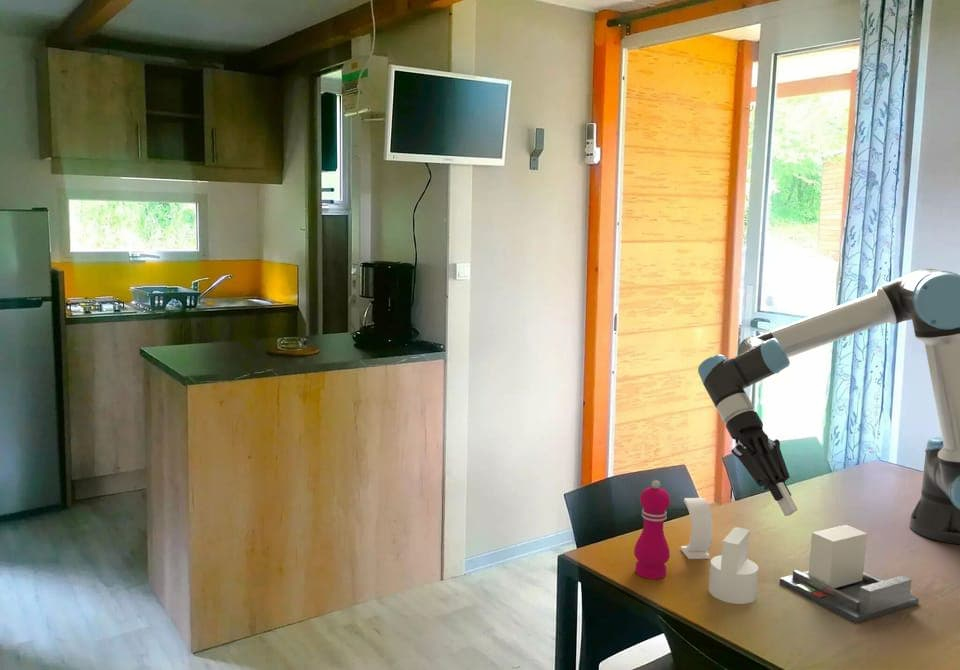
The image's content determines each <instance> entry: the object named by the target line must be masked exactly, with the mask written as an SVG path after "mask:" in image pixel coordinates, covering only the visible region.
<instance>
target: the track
mask: <svg viewBox="0 0 960 670" xmlns="http://www.w3.org/2000/svg"><path fill="white" fill-rule="evenodd" d="M808 573H809V570H805V571H800V570H798V569H795V570H792V574H790V575H787V576H783V577H779V585H780V586H781V585H782V587H785V588H787V589H789V590H791V591H793V592H795V593H797V594H798V595H801V596H803V597H805V598H806V599H807V600H810V601H812V602H814V603H815V604H818V605H820V606H821V607H823V608H825V609H828V610H829V611H831V612H833V613H835V614H837V615H838V616H840V617H843V618H844V619H847V620H848V621H850V622H852V623H854V624H856V625H858V624H861V623H863V622H866V621H870V620H873V619H876V618H879V617H882V616H886V615H889V614H891V613H895V612H898V611H901V610H905V609H907V608H911V607H914V606H918V605H919V603H920V602H919V601H920V599H919V598H918V597H916V596H915V595H912V594H911V588H912V578H909V577H906V576H905V575H898V576H895V577H892V578H887V579H885V580H882V579H880V578H878V577H876V576H873V575H872V574H869V573H867V572H865V571H864V572H863V580H862V581H859V582H855V583H851V584H848V585H844V586H841V587H837V588H832V587H830V586H828V585H826V584H824V583H822V582H820V581H818V580H816V579H814V578H812V577H810V576H808Z"/></svg>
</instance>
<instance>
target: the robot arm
mask: <svg viewBox="0 0 960 670" xmlns="http://www.w3.org/2000/svg"><path fill="white" fill-rule="evenodd" d="M910 320H912V326H913V332H914V337H915V338H916V339H918V340H919V341H921V342H922V343H923V344H924V347H925V352H926V357H927V358H926V359H927V364H928V369H929V374H930V380H931V385H932V390H933V395H934V396H933V397H934V400H935V401H934V402H935V406H936V412H937V416H938V421H939V422H938V423H939V427H940V433H941V437H931V438H930V439H928V440H927V443H926V448H925V450H924V453H925V456H924V464H923V475H922V481H921V482H922V485H921V492H920V498H919V500H918V501H917V504H916V505H915V506H914V509H913V511H912V513H911V515H910V519H909V528H910V529H911V530H912V531H913V532H914V533H916V534H918V535H919V536H923V537H924V538H928V539H931V540H934V541H938V542H942V543H946V544H947V543H948V544H954V545H955V544H956V545H960V274H958V273H955V272H953V271H946V270H938V269H934V268H922V269H918V270H916V271H915V270H914V271H912V272H910V273H907V274H905V275H902V276H901V277H897V278H896V279H894V280H891V281H889V282H886V283H884V284H881V285H878V286H877V287H876V289H875V291H874V292H872V293H870V294H867V295H865V296H862V297H858V298H856V299H853V300H850V301H848V302H845V303H843V304H840V305H837V306H834V307H832V308H830V309H827V310H823V311H821V312H819V313H815V314H813V315H810V316H808V317H804V318H803V319H800V320H797V321H794V322H792V323H789V324H786V325H784V326H781V327H778V328H775V329H772V330H770V331H768V332H764V333H762V334H760V335H749V336H747V337H744V339H742V340H741V342H740V343H739V344H738V345H739V346H738V350H737V351H738V352H737V353H738V355H736V356H734V357H732V358H729V359H728V358H727V356H726V355H723V354H716V355H714V356H709V357H707V358H706V359H704V360H703V361H702V362H701V363H700V364H699V365H698V367H697V373H698V375H699V377H700V379H701V382H702V384H703V386H704V388H705V391H706V392H707V394H708V396H709V397H710V399H711V401H712V403H713V405H714V406H715V408H716V410H717V412H718V415H719V416H720V418H721V420H722V422H723V423H724V424H725V428H726V429H727V432H728V433H729V436H730V437H731V439H732V440H735V444H736V445H735V446H734V447H733V448H732V449H731V451H730V452H731V453H732V454H733V455H734V456H735V457H736V458H737V459H738V460H739V461H740V462H741V463H742V465H743V467H744V468H745V469H746V471H747V472H748V473H749V475H750V476H751V477H752V478H753V480H754V481H755V483H756V484H757V485H758V487H760V488H761V487H763V490H766V491H767V490H769V492H770V494H771V495H772V497H773V499H774V501H775V502H777V504H778V506H779V508H780V509H781V511H782V513H783V516H784V517H789V516H791V515H793V514H794V513H796V512H797V511H799V509H798V507H797V504H795V502H794V500H793V498H792V493H791V491H790V490H789V488H788V486H787V485H786V482H787V481H788V479H790V473H789V472H788V471H789V470H788V468H787V465H786V462H785V459H784V457H783V454H782V451H781V444H780V443H781V442H780V440H779V439H774V440H772V439H771V438H769V435H768V434H767V433H766V432H765V431H764V430H763V427H764V423H763V421H762V420H761V418H760V415H759V414H758V412H757V411H755V407H754V405H753V403H752V401H751V400H750V397H749V396H748V394H747V392H746V391H745V389H746V388H748V387H751V386H752V385H755V384H757V383H759V382H761V381H763V380H765V379H766V378H769V377H771V376H773V375H774V374H779V373H780V372H781V371H783V370H784V369H786V368H788V367H790V365H791V361H790V359H789V358H791V357H793V356H797V355H800V354H802V353H804V352H808V351H810V350H814V349H817V348H818V347H821V346H825V345H827V344H830V343H834V342H835V341H838V340H842V339H843V338H847V337H849V336H852V335H855V334H858V333H861V332H864V331H866V330H869V329H872V328H874V327H878V326H881V325H883V324H887V323H889V324H891V325H896V324H899V323H901V322H905V321H910Z"/></svg>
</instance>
